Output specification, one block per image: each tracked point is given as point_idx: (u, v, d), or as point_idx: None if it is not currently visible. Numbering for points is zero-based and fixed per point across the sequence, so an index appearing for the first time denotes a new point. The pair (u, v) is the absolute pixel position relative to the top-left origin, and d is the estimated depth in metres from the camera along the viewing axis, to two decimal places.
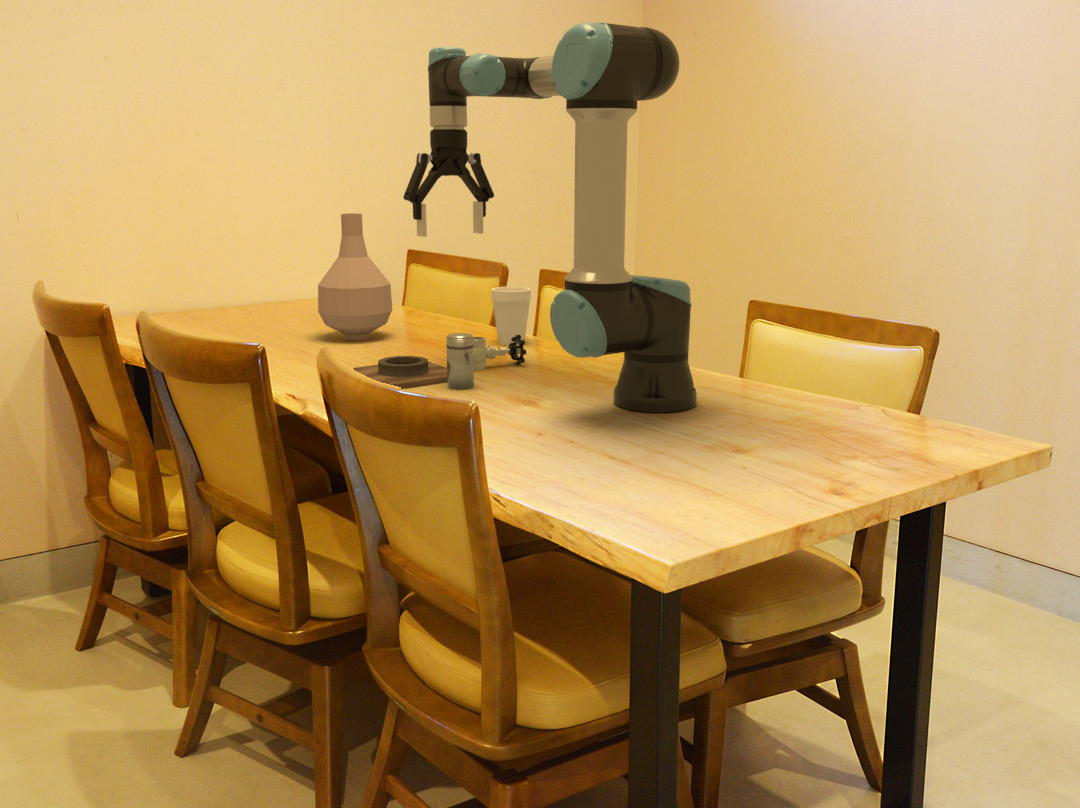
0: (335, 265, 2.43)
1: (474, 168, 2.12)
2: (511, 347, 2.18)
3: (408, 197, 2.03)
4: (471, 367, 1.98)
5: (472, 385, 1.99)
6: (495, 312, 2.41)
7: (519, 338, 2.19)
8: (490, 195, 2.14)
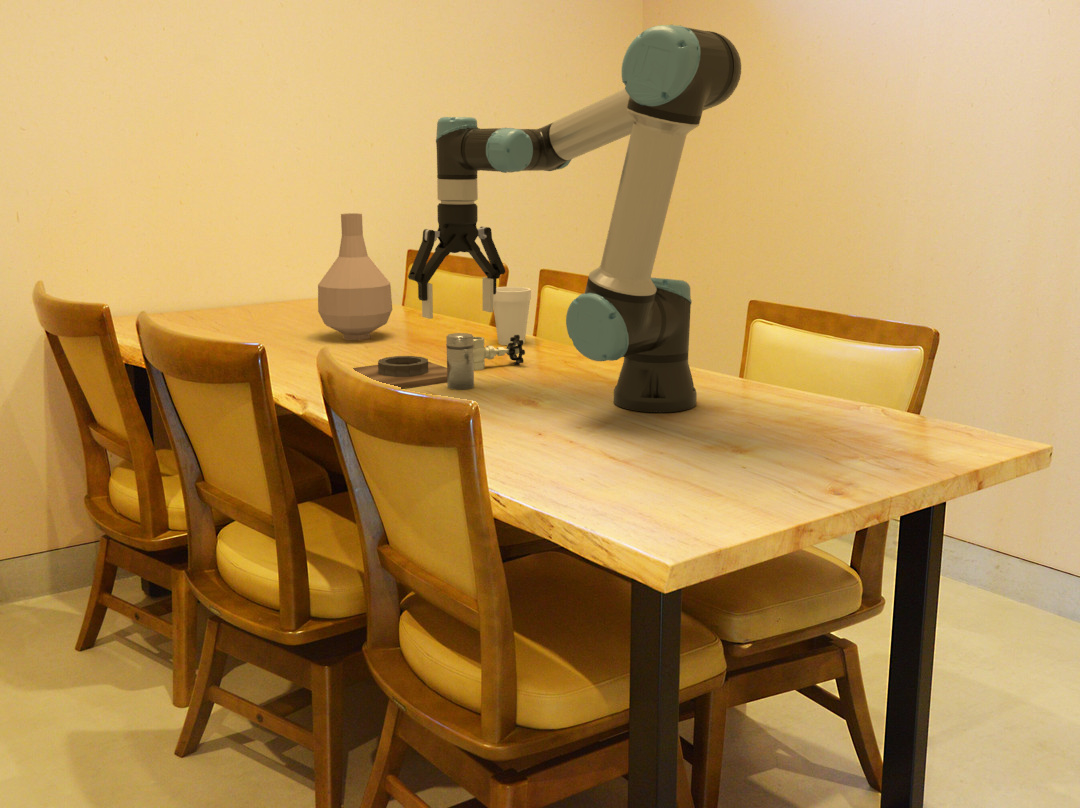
0: (335, 265, 2.43)
1: (485, 243, 1.97)
2: (510, 347, 2.18)
3: (413, 277, 1.88)
4: (471, 367, 1.98)
5: (472, 385, 1.99)
6: (495, 312, 2.41)
7: (518, 338, 2.19)
8: (501, 271, 1.99)
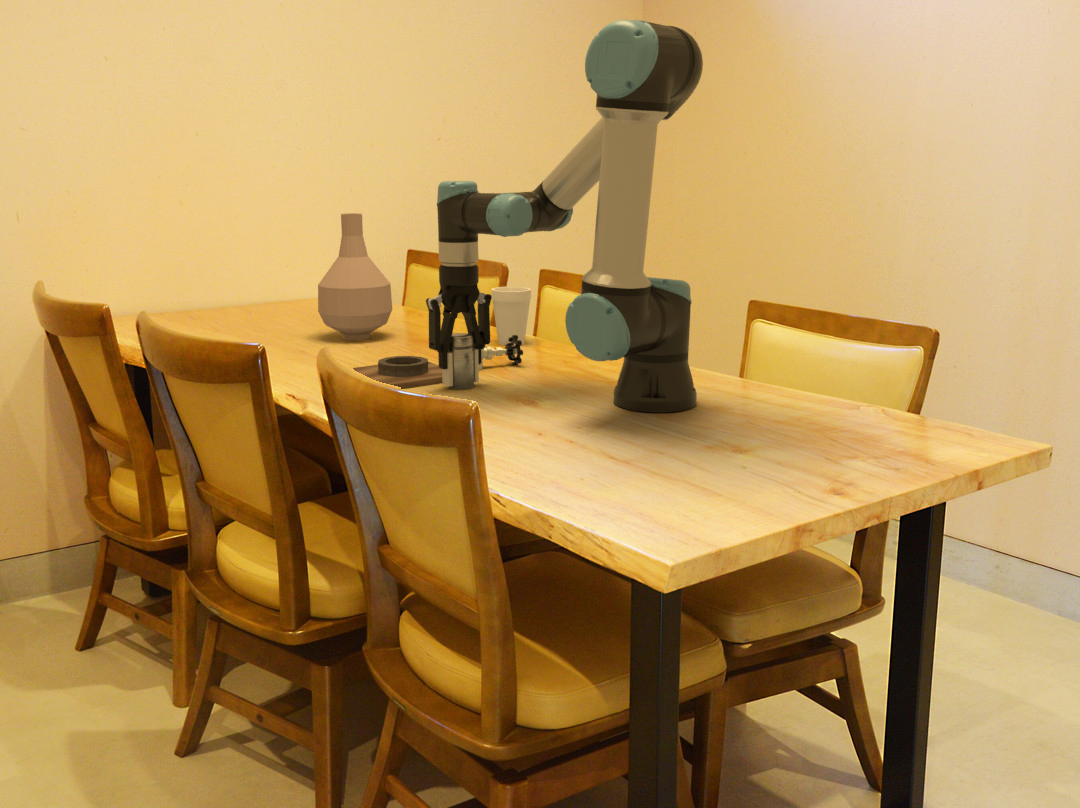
0: (335, 265, 2.43)
1: (481, 308, 1.99)
2: (508, 347, 2.18)
3: (434, 348, 1.94)
4: (471, 367, 1.98)
5: (472, 385, 1.99)
6: (495, 312, 2.41)
7: (516, 338, 2.18)
8: (486, 341, 2.00)
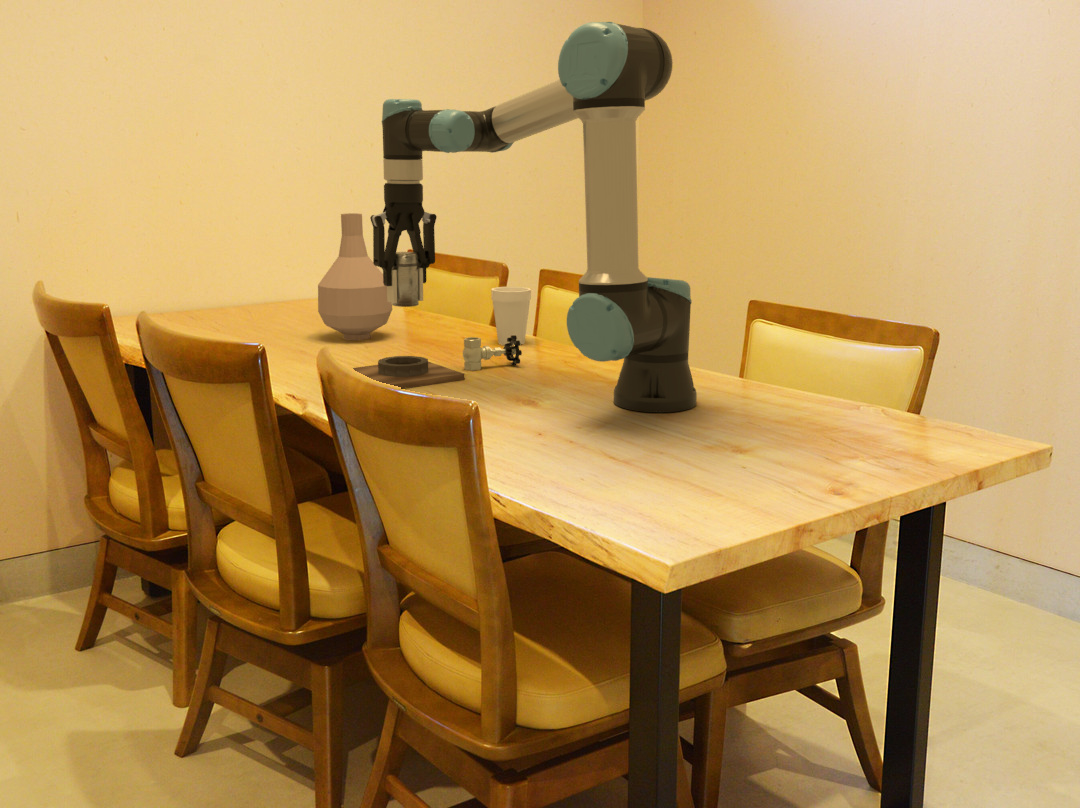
0: (335, 265, 2.43)
1: (426, 228, 2.03)
2: (506, 348, 2.18)
3: (378, 265, 1.98)
4: (416, 284, 2.02)
5: (416, 303, 2.03)
6: (495, 312, 2.41)
7: (515, 339, 2.18)
8: (431, 260, 2.04)
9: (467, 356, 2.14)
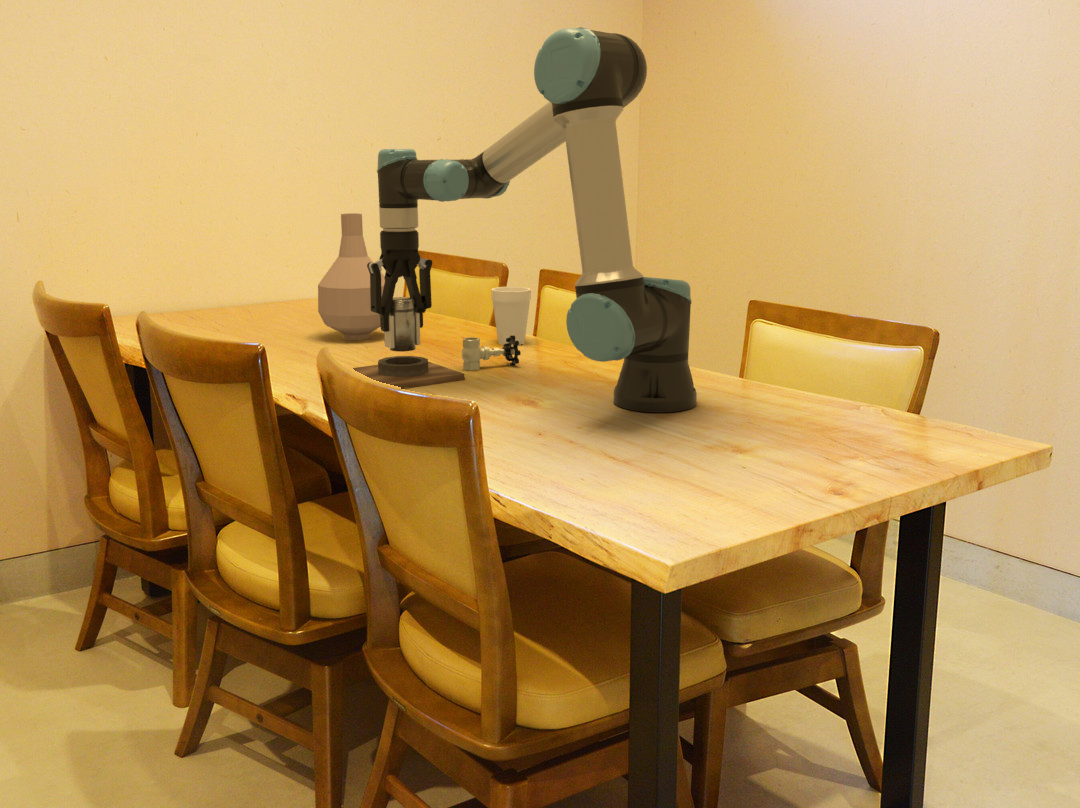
0: (335, 265, 2.43)
1: (422, 273, 2.06)
2: (505, 348, 2.18)
3: (375, 311, 2.00)
4: (412, 329, 2.04)
5: (413, 348, 2.05)
6: (495, 312, 2.41)
7: (513, 339, 2.18)
8: (427, 305, 2.06)
9: (466, 356, 2.14)
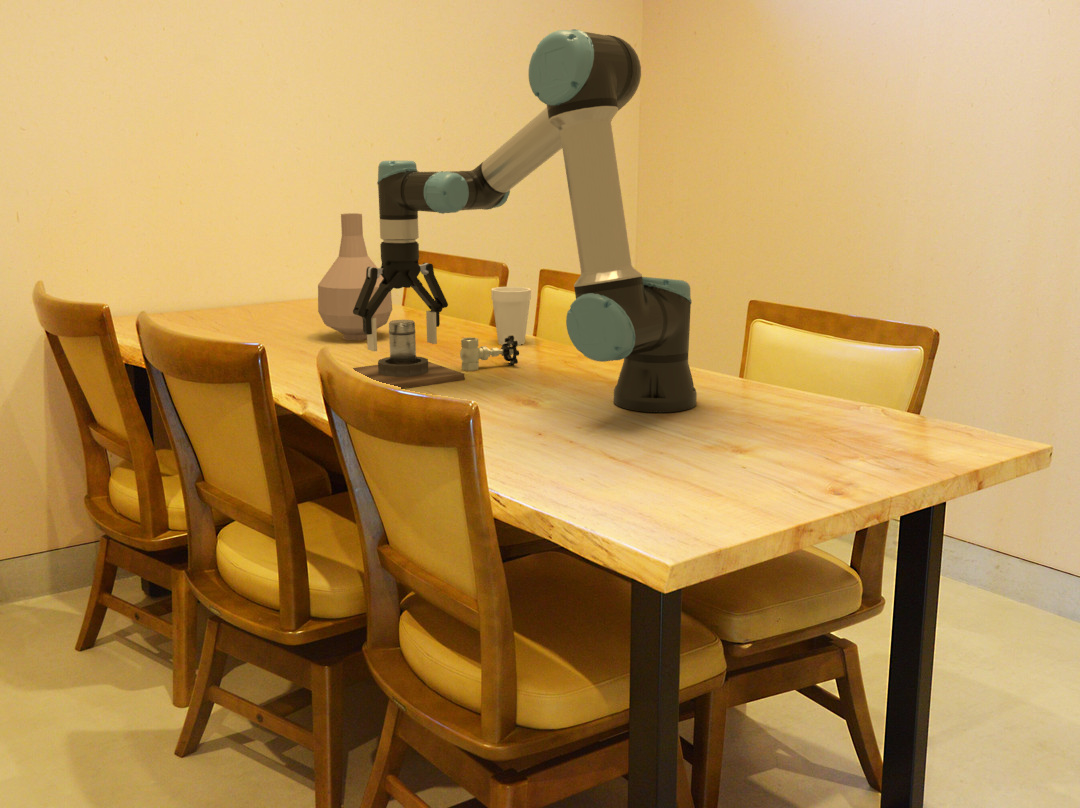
0: (335, 265, 2.43)
1: (427, 278, 2.07)
2: (504, 348, 2.18)
3: (357, 313, 1.98)
4: (413, 352, 2.05)
5: None
6: (495, 312, 2.41)
7: (512, 339, 2.18)
8: (444, 305, 2.09)
9: (464, 356, 2.13)
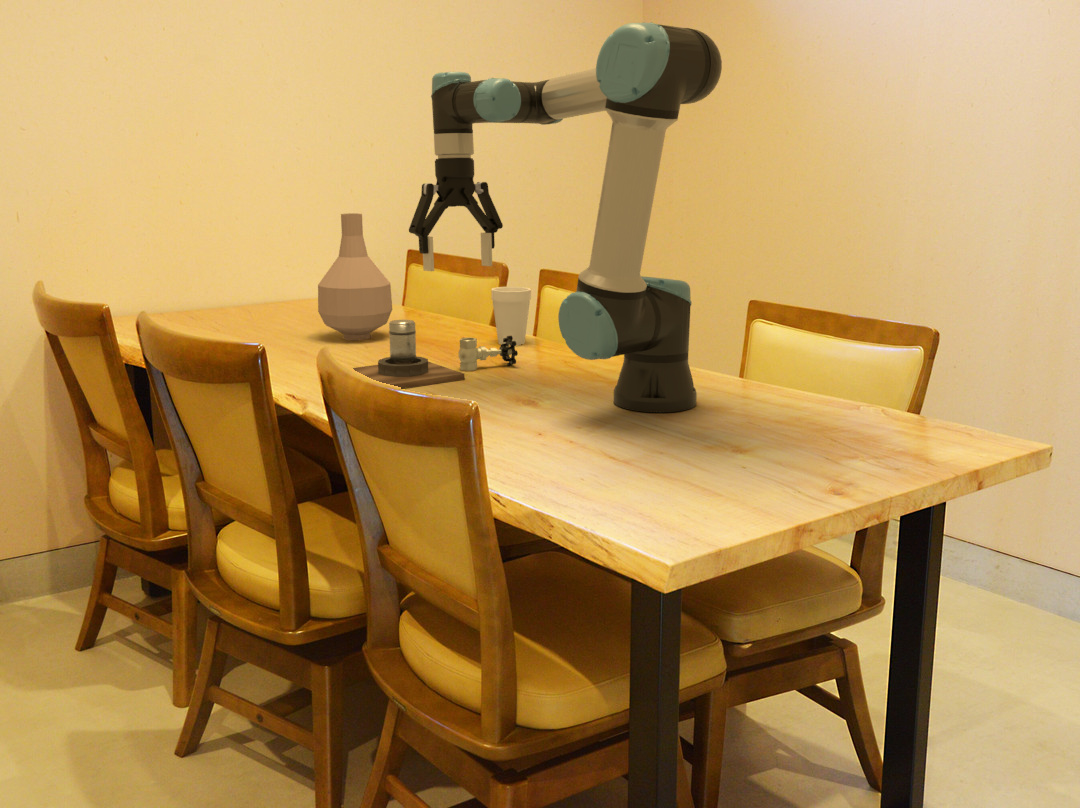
0: (335, 265, 2.43)
1: (482, 198, 2.01)
2: (502, 348, 2.17)
3: (414, 230, 1.92)
4: (413, 352, 2.05)
5: None
6: (495, 312, 2.41)
7: (511, 339, 2.18)
8: (498, 226, 2.03)
9: (463, 356, 2.13)
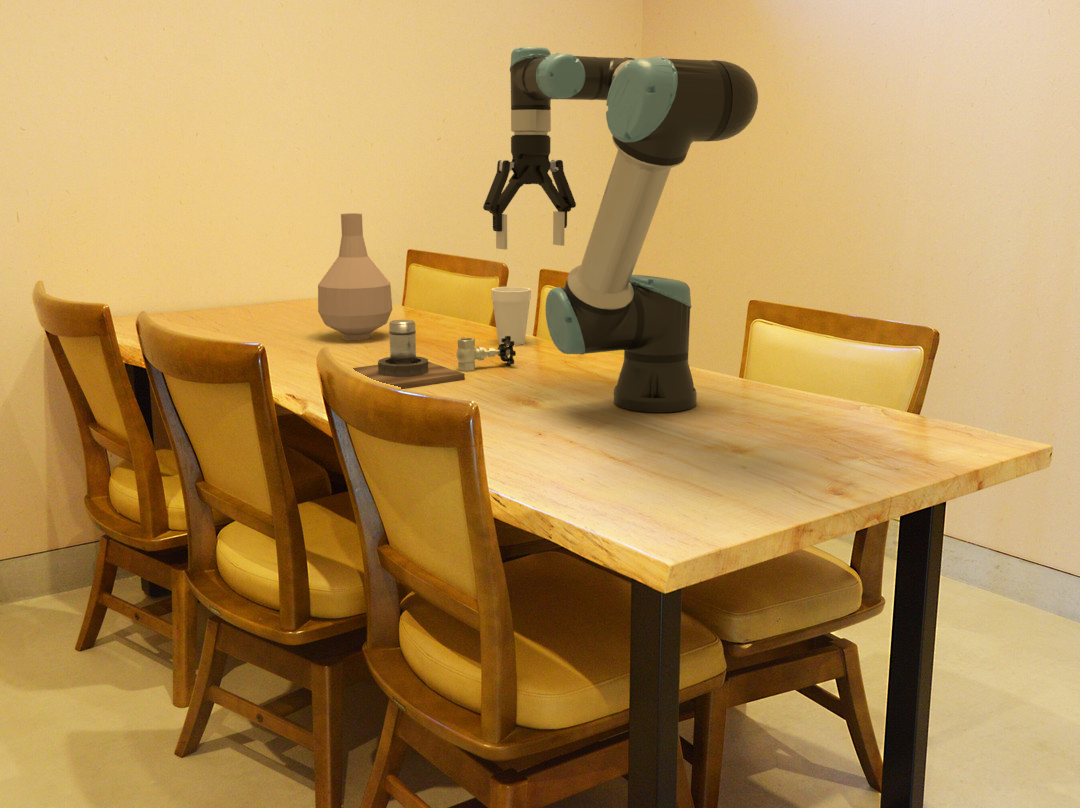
0: (335, 265, 2.43)
1: (556, 176, 1.98)
2: (501, 348, 2.17)
3: (489, 207, 1.90)
4: (413, 352, 2.06)
5: None
6: (495, 312, 2.41)
7: (509, 339, 2.18)
8: (572, 205, 2.01)
9: (461, 356, 2.13)
